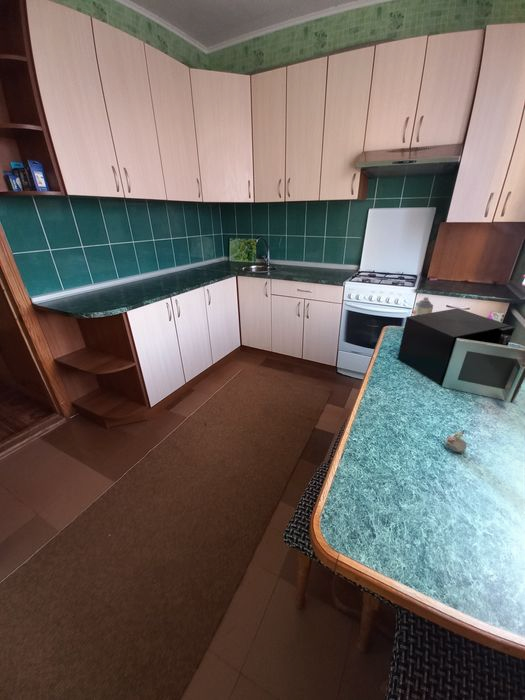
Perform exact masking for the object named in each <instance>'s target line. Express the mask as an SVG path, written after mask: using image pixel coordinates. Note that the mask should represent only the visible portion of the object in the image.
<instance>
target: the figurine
mask: <svg viewBox="0 0 525 700" xmlns="http://www.w3.org/2000/svg"><path fill="white" fill-rule="evenodd" d="M464 433H465V430H464V429H462V430H461V431H460V432H458V431H456V433H455V432H454V433H452V434H451V435H450V436H448V437H447V438H446V439H445V442H444V443H445V447H446V448H448V449H450V450H451V451H453V452H455V453H458V454H459V453H460V454H464V453H465V452H466V450H467V447H468V445H467V443H466V441H465V440H464V439H462V435H464Z"/></svg>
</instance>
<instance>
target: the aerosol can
mask: <svg viewBox="0 0 525 700" xmlns="http://www.w3.org/2000/svg"><path fill="white" fill-rule="evenodd" d="M433 308H434V304H432V302H431V301H430V299H429V296H424V297H423V299H421V300H419V301H418V302H416V303H415V306H414V309H413V313H412V316H415V315H421V314H427V313H433Z"/></svg>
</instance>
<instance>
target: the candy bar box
mask: <svg viewBox="0 0 525 700" xmlns="http://www.w3.org/2000/svg"><path fill="white" fill-rule="evenodd" d="M505 314H506V313H503V312H497V311H496V312H495V311H489V314H488V315H487V317H486V318H489V319H492V320H495V321H498V322H501V323H503V321H504V317H505Z"/></svg>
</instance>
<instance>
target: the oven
mask: <svg viewBox="0 0 525 700" xmlns="http://www.w3.org/2000/svg"><path fill="white" fill-rule="evenodd" d="M515 329H516V328H515V326H511V325H510V324H507V323H504V322H502V323H501V322H498V321H495V320H492V319H489V318H487V317H486V316H482V315H480V314H476V313H473V312H470V311H468V310H464V309H462V308H450V309H446V310H439V311H432V313H427V314H421V315H415V316H413V315H410V316H406V317H405V322H404V327H403V331H402V335H401V339H400V344H399V350H398V354H397V360H398V361H401V362H402V363H404V364H405V365H407V366H408V367H410V368H411V369H413V370H414V371H417V372H418V373H420V374H422V375H423V376H425V377H426V378H428V379H429V380H431V381H433V382H435V383H436V384H438V385H442V383H443V380H444V376H445V373H446V370H447V367H448V364H449V361H450V357H451V354H452V351H453V348H454V345H455V341H456V338H460V339H467V340H473V341H480V342H487V343H493V344H500V345H507V346H509V343H510V341H511V339H512V337H513V334H514V331H515Z"/></svg>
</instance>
